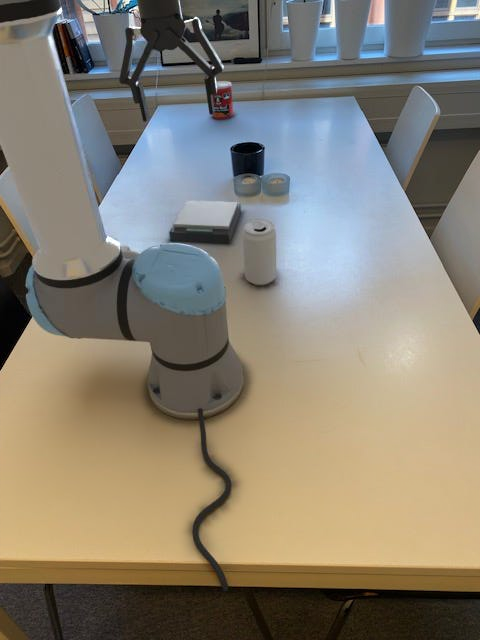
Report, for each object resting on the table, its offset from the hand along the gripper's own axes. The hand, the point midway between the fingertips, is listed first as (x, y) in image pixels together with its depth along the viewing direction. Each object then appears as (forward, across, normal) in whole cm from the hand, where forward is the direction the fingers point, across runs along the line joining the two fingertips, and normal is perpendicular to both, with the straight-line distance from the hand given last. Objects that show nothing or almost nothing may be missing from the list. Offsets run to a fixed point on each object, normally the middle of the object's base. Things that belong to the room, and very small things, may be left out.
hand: (179, 116), depth 99 cm
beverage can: (+29, -14, +18) cm, 37 cm away
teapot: (+27, +12, +22) cm, 37 cm away
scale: (+27, -1, -4) cm, 27 cm away
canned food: (+22, +2, -86) cm, 89 cm away
